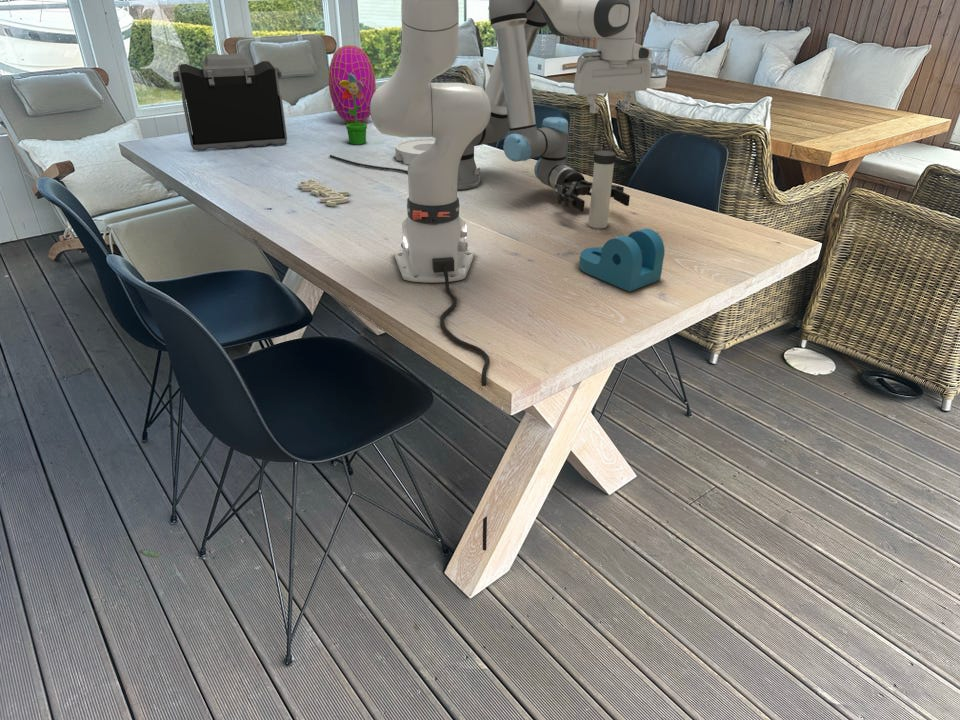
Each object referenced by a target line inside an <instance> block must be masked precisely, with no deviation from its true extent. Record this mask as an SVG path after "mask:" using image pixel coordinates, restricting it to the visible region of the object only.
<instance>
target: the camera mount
mask: <svg viewBox="0 0 960 720" xmlns="http://www.w3.org/2000/svg"><path fill="white" fill-rule="evenodd" d="M664 258H665V245H664V241H663V239H662V238H661V236H660V234H659V233H658V232H657V231H655V230H654V229H651V228H641V229H638V230H635V231H632V232H630V233H629V234H628V235H620V236H617V237H612V238H610V239H608V240H606V241H605V242H604V244H603V245H602V246H593V247H588V248H584V249H583V250H581V251H580V253H579V264H578V268H579V270H581V271H582V272H583V273H584V274H588V275H589V276H591V277H594V278H597V279H599V280H601V281H603V282H606V283H608V284H611V285H612V286H615V287H617V288H619V289H622V290H624V291H627V292H632V291H635V290H638V289H640V288H642V287H645V286H648V285H651V284H653V283H655V282H659V281H660V280H661V278H662V271H663V266H664Z"/></svg>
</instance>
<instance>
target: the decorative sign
mask: <svg viewBox="0 0 960 720" xmlns="http://www.w3.org/2000/svg"><path fill="white" fill-rule="evenodd" d="M297 187H298V189H301V191H303V192H310V193H311V195H314V196H316V197H319V196H320V195H321V197H319V202H320V203H326V206H327V207H328V206H329V207H337V204H344V203H348V202H349V201H350V200H349V197H348V196H349V195H350V191H349V190H341V191H340V190H335V189H332V188H331V187H329V186H326V185H324V184H323V183H320V182H318V180H315V179H313V178H311V179H307V180H305V181H304V180H300V183H299V184H297Z"/></svg>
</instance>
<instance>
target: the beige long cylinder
mask: <svg viewBox="0 0 960 720" xmlns="http://www.w3.org/2000/svg"><path fill="white" fill-rule="evenodd" d="M593 162H594V161H593ZM614 168H615V162H614V163H611V164H601V163H596V162H594V164H593V171H592V181H591V182H592V188H591V191H590V193H591V196H590V204H589V215H588V224H587V225H588V227H591V228H593V229H605V228H607V227H608V222H609V213H610V211H609V210H610V204H611V197H610V196H611V186H612V185H613V178H614V177H613V176H614Z"/></svg>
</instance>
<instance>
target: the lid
mask: <svg viewBox="0 0 960 720" xmlns="http://www.w3.org/2000/svg"><path fill="white" fill-rule="evenodd" d="M616 159H617V154H616V152H614V151H610V150H598V151H594V154H593V162H596V163H601V164H611V163H614V164H615V163H616Z"/></svg>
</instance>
